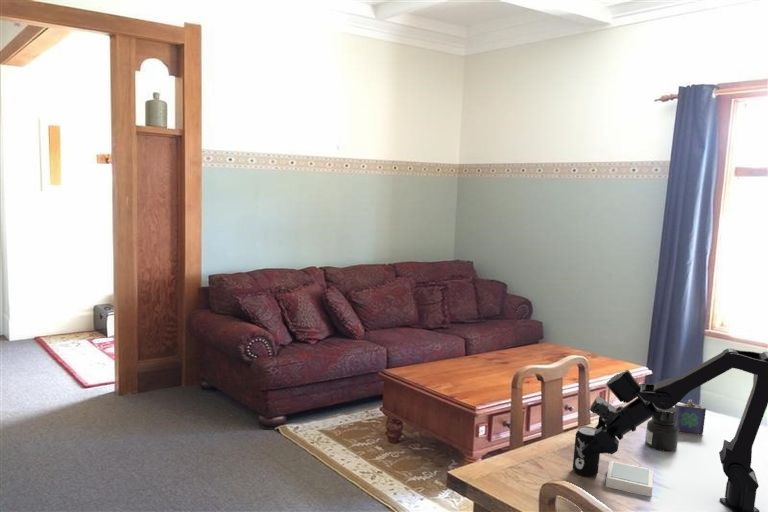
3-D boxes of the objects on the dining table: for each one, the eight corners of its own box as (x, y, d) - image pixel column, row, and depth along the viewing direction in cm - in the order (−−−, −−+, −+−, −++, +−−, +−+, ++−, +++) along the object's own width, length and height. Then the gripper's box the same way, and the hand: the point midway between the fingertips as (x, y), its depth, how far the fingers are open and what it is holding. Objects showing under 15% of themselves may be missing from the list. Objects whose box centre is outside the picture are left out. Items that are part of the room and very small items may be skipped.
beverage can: (599, 479, 169) (603, 436, 167) (573, 476, 170) (577, 433, 168) (596, 468, 175) (600, 427, 174) (571, 465, 176) (575, 424, 175)
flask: (672, 431, 204) (676, 399, 203) (670, 428, 207) (674, 396, 205) (703, 436, 202) (707, 403, 200) (701, 432, 205) (705, 400, 203)
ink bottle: (650, 437, 199) (654, 400, 197) (680, 445, 193) (685, 407, 192) (640, 446, 191) (644, 408, 190) (671, 455, 186) (675, 416, 184)
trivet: (652, 478, 171) (653, 469, 171) (651, 496, 161) (652, 487, 160) (609, 469, 175) (609, 460, 175) (605, 486, 165) (606, 476, 165)
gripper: (613, 380, 176) (569, 411, 182) (608, 401, 159) (559, 434, 165) (641, 413, 174) (595, 443, 180) (638, 438, 157) (587, 470, 163)
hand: (584, 446), depth 172 cm, fingers open, 9 cm apart
